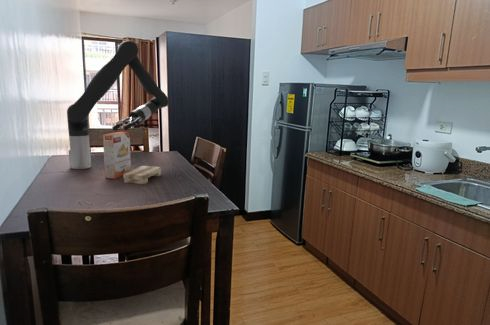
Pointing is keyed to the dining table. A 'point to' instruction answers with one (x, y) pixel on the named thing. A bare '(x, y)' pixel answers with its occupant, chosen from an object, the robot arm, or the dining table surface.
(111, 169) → the cracker box
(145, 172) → the birch stand
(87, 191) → the dining table surface
